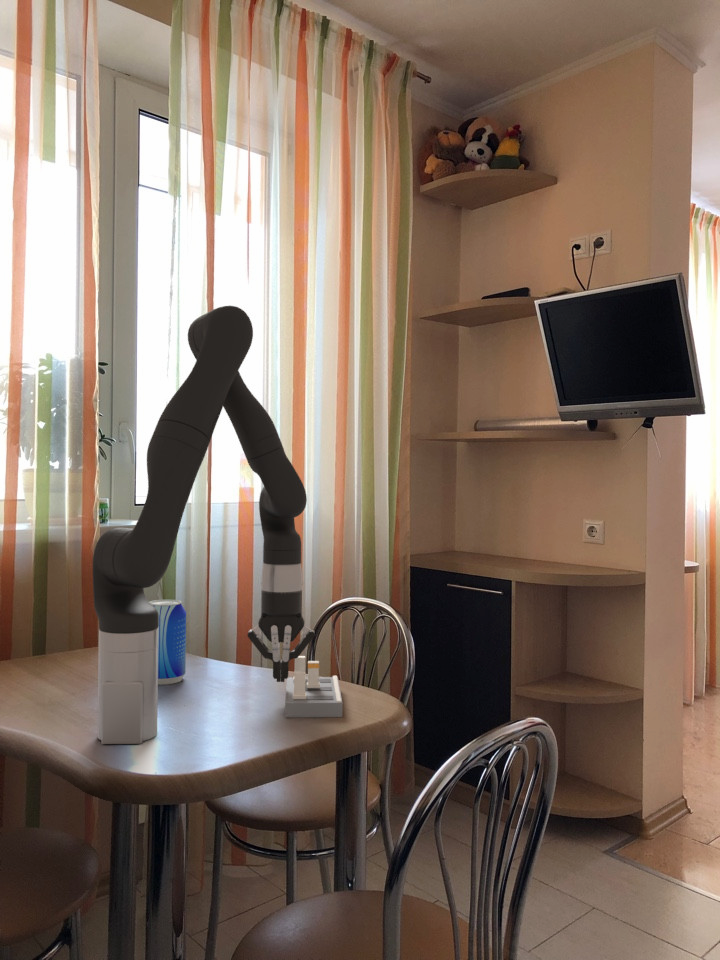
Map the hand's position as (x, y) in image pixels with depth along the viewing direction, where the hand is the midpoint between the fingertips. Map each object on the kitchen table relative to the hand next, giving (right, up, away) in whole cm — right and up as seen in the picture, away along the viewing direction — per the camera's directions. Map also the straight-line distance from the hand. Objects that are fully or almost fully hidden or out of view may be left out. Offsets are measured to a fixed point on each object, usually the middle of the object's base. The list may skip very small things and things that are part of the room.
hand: (280, 680), depth 150 cm
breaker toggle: (+6, -1, 0) cm, 6 cm away
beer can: (-25, -4, +15) cm, 30 cm away
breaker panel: (+6, -4, 0) cm, 7 cm away
